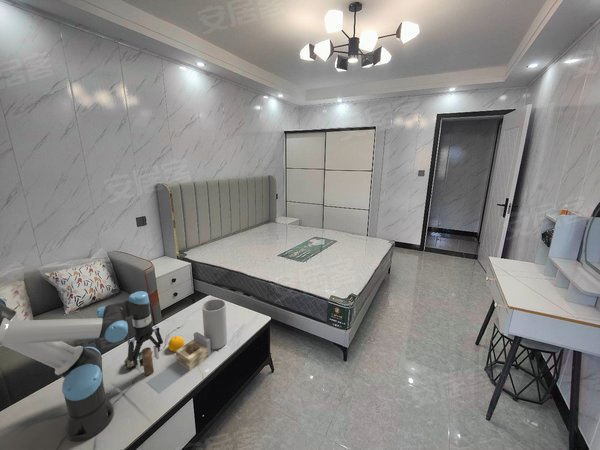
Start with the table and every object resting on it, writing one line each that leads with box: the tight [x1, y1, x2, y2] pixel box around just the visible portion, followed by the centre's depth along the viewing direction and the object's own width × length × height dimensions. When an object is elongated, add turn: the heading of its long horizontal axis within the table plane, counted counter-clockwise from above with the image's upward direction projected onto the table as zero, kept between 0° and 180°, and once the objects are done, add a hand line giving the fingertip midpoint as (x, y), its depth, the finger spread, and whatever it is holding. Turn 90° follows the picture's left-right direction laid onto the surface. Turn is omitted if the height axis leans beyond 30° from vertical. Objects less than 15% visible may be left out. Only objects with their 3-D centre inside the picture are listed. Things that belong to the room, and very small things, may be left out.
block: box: [175, 338, 209, 371], centre depth 138 cm, size 11×11×6 cm
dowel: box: [140, 346, 155, 377], centre depth 128 cm, size 4×4×14 cm
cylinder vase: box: [201, 298, 228, 351], centre depth 150 cm, size 12×12×25 cm
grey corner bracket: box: [145, 331, 212, 394], centre depth 132 cm, size 29×11×11 cm, turn 148°
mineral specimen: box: [124, 350, 154, 371], centre depth 136 cm, size 12×9×8 cm
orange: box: [167, 335, 185, 353], centre depth 146 cm, size 8×8×8 cm
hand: (147, 363), depth 128 cm, fingers open, 8 cm apart
